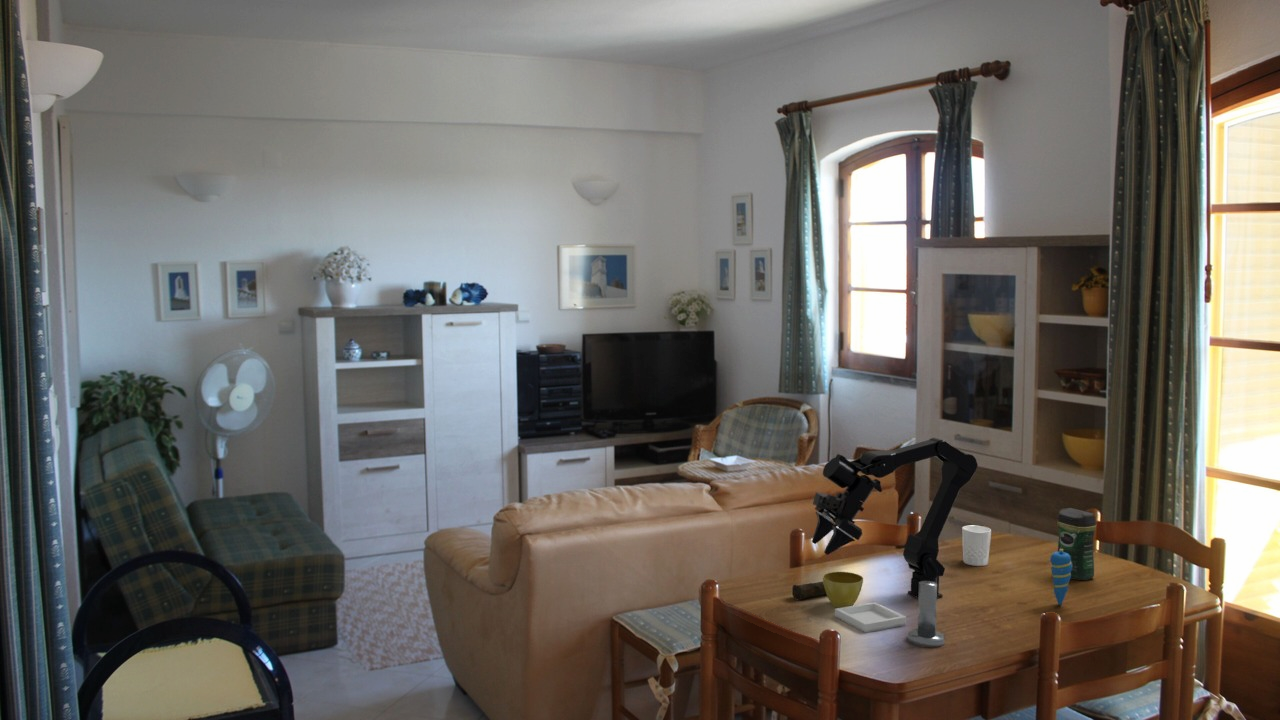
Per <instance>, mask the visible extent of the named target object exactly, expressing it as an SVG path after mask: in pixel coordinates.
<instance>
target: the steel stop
mask: <svg viewBox="0 0 1280 720" xmlns="http://www.w3.org/2000/svg"><path fill="white" fill-rule="evenodd" d="M937 599H938V598H937V583H935V582H932V581H921V582H919V598H918V601H917V602H918V604H917V606H918V608H917V609H918V610H917V628H914V629H911V630H909V631H908V634H907V635H908V639H907V640H908V642H909V643H910V644H913V645H914V646H917V645H918V646H917V647H921V646H924V647H923V648H928V647H935V648H940V647H943V646H944V645H945V644H946V643H945V640H946V639H945V637H946V636H945V634H944V633H942V632H941V631H939V630H937V605H938V604H937V603H938V602H937V601H938V600H937ZM942 645H943V646H942ZM939 646H940V647H939Z"/></svg>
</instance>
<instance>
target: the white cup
mask: <svg viewBox="0 0 1280 720" xmlns="http://www.w3.org/2000/svg"><path fill="white" fill-rule="evenodd" d="M961 529H962V530H961V531H962V539H961V541H962V553H963V554H962V562H963V563H964V564H966V565H969V566H976V567H982V566H987V565H988V564H989V555H990V548H991V539H992V538H991V536H992V529H991V528H989V527H988V526H984V525H983V526H981V525H976V524H975V525H974V524H972V525H964V526H962V528H961Z"/></svg>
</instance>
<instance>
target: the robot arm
mask: <svg viewBox="0 0 1280 720" xmlns="http://www.w3.org/2000/svg"><path fill="white" fill-rule="evenodd" d="M933 457H935V458H936V459H938V460H939V461H941V463H942V466H941V483H940V484H939V487H938V489H937V492H936V494H935V497H934V498H933V501H932V503H931V505H930V507H929V510H928V511H927V512H928V513H926V516H925V519H924V520H923V523H922V525H921V528H920V530H919V531H918V532H917V533H916V534H912V533H909V534H908V536H907V539H906V542H905V544H904V545H903V546H902V548H903V553H902V554H903V555H902V556H903V557H904V560H905V562H906V563H907V565H908V568H909V569H912V570H913V571H912V575H911V576H912V577H911V578H910V590H908V591H907V593H908V594H909V595H911V596H914V597H916V598H918V599H919V582H921V581H932V582H935V583H937V599H938V598H944V595H943V594H942V593H940V592H939V591H940V590H939V589H940V588H939V587H940V585H939V584H940V577H943V575H944V573H945V570H946V568H945V567H944V566H943V564H942V563H940V561H939V560H938V556H939V551H940V549H939V538H940V535H941V533H942V531H943V529H944V527H945V524H946V522H947V520H948V517H949V516H950V513H951V511H952V508H953V506H954V503H955V501H956V500H957V497H958V495H959V492H960V490H961V489H962V488H963V487H964V486H965V485H967V484H968V483H969V482H970V481H971V479H972V478H973V476H974V475H975V473H976V472H977V470H978V466H979V465H978V464H979V463H978V461H977V459H976V457H975V456H974V455H973V454H970V453H967V452H963V451H961V450H959V449H957V448H956V447H955V446H953V445H951V444H950V443H948V442H947V441H946V440H944V439H941V438H937V437H931V438H929V439H928V440H924V441H921V442H917V443H914V444H909V445H906V446H903V447H899V448H896V449H891V450H869V451H866V452H863V453H862V454H861V457H858V458H856V459H854V460H851V461H849V460H848V459H847V458H846V457H845V456H844V455H842V454H840V453H837V454H836V456H835V457H833V458H831V459H830V460H829V461H827V462H826V464H825V466H824V467H823V470H822V475H823V477H824V478H826V480H827V479H828V481H830V482H832V483H833V484H834V485H836V486H838V487H839V488H840V489H844V490H843V492H840V491H839V492H837V493H836V495H834V494H833V495H831V494H830V493H829V494H827V493H824V492H818V491H815V494H814V498H813V500H812V505H813V506H815V508H814V510H815V515H816V519H817V523H816V527H815V530H814V533H813V537H812V540H811V543H812V544H813V545H817V543H819V542H820V541H821V540H822V539H824V538H825V537H826V536H827V535H829V534H830V533H831V532H833V533H832V535H831V537H830V539H829V541H828V543H827V545H826V547H825V549H824V551H823V553H824V555H825V554H826V555H827V556H828V555H830V554H832V553H834V552H836V551H837V550H839V549H841V548H842V547H843V546H846V545H848V544H850V543H851V542H855V541H856V540H857V541H859V540H860V539H861V537H862V536H863V529H862V528H861V527H860V526H859V525H857V524H855V523H856V521H854V519H855V518H856V517H857V514H858V513H859V512H863V511H864V509H865V508H864V507H863V505H864V504H865V503H866V501H867V499H868V498H869V497H870V495H871V494H872V492H873V491H874V490H876V491H877V492H879V493H882V491H883V489H882V485H881V481H880V480H879V479H880V478H884V477H887V476H889V475H890V474H892V473H895V471H897V469H898V468H900V467H903V466H906V465H910V464H913V463H914V464H915V463H917V462H920V461H923V460H929V459H930V458H933ZM858 473H861V475H859V474H858ZM869 476H871V477H874V478H875V479H872V478H871V477H869Z"/></svg>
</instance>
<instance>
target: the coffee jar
mask: <svg viewBox="0 0 1280 720" xmlns="http://www.w3.org/2000/svg"><path fill="white" fill-rule="evenodd" d="M1056 523H1057V527H1058V544H1057V552H1059V549H1060V548H1061V549H1062V548H1063V552H1065V553H1068V554H1069V555H1070V557H1071V562H1072V566H1073V567H1072V570H1071V572H1070V573H1071V578H1070V579H1073V580H1076V581H1077V580H1082V581H1087V580H1091V579H1092V578H1094V577H1095V562H1094V561H1095V560H1094V559H1095V558H1094V536H1095V531H1096V529H1097V521H1096V515H1095V513H1093V512H1087V511H1085V510H1081V509H1078V508H1077V509H1076V508H1072V507H1068V508H1061V509H1060V510H1059V512H1058V517H1057V522H1056Z"/></svg>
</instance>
